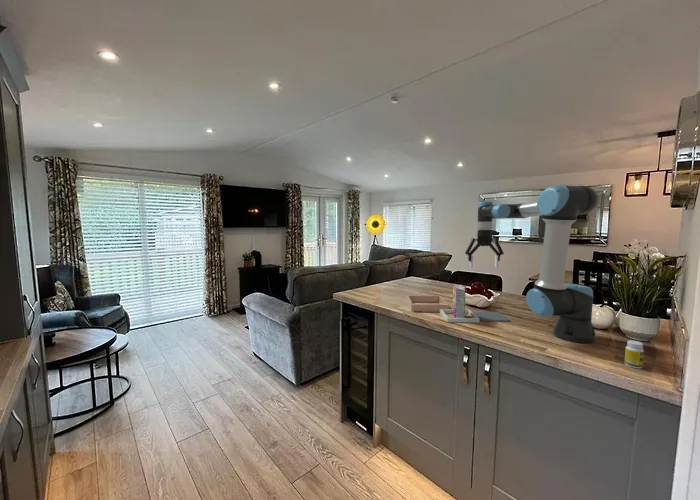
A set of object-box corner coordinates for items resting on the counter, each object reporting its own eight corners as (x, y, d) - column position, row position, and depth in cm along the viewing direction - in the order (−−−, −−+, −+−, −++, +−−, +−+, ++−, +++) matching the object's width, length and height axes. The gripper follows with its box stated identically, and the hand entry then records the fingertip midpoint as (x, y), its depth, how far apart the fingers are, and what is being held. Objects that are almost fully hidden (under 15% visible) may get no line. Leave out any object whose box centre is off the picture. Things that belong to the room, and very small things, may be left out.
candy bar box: (452, 314, 169) (452, 284, 167) (461, 314, 168) (462, 285, 166) (455, 320, 158) (455, 289, 156) (465, 321, 157) (466, 289, 155)
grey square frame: (479, 322, 154) (479, 318, 154) (447, 322, 155) (447, 318, 155) (469, 313, 170) (469, 309, 170) (439, 312, 171) (439, 309, 171)
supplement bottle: (642, 370, 104) (644, 346, 103) (623, 365, 107) (625, 342, 107) (643, 365, 107) (645, 342, 106) (625, 361, 111) (626, 338, 110)
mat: (510, 321, 155) (510, 320, 155) (481, 321, 156) (482, 320, 156) (498, 313, 169) (498, 312, 169) (472, 313, 170) (472, 311, 170)
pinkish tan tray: (448, 311, 173) (449, 304, 173) (411, 311, 174) (411, 304, 174) (440, 301, 195) (440, 295, 194) (406, 301, 196) (406, 295, 196)
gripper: (505, 229, 174) (504, 266, 176) (460, 229, 177) (459, 266, 178) (510, 229, 167) (509, 268, 169) (463, 229, 169) (462, 267, 171)
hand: (483, 267), depth 174 cm, fingers open, 13 cm apart
